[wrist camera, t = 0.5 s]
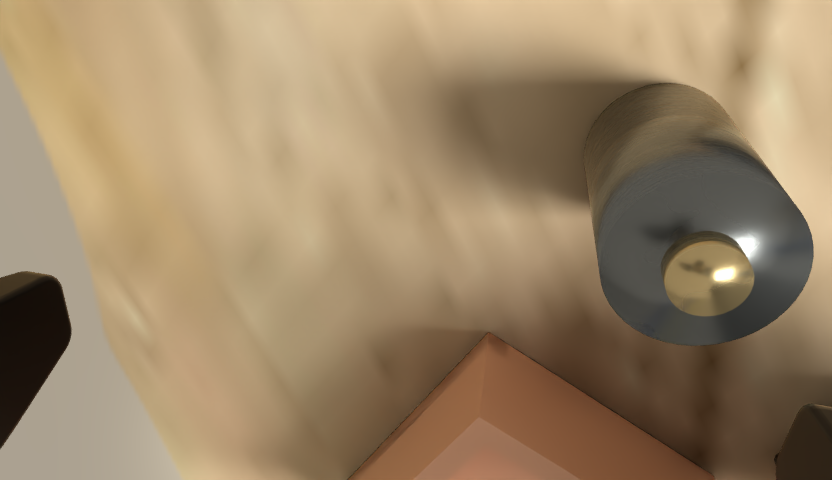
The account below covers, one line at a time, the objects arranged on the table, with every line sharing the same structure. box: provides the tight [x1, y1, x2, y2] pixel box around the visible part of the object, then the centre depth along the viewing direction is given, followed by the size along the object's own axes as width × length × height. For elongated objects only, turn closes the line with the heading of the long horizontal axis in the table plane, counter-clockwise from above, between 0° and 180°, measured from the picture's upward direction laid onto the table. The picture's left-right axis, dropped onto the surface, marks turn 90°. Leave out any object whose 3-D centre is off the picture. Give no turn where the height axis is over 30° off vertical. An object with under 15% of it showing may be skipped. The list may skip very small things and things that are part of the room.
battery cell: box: [584, 83, 813, 346], centre depth 16 cm, size 4×4×7 cm
